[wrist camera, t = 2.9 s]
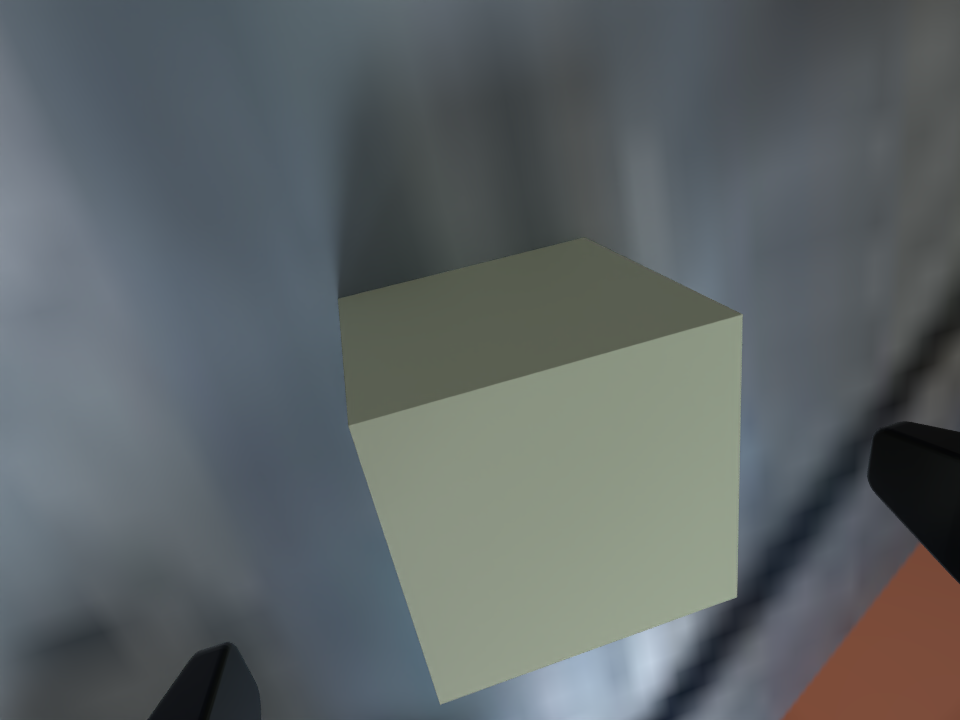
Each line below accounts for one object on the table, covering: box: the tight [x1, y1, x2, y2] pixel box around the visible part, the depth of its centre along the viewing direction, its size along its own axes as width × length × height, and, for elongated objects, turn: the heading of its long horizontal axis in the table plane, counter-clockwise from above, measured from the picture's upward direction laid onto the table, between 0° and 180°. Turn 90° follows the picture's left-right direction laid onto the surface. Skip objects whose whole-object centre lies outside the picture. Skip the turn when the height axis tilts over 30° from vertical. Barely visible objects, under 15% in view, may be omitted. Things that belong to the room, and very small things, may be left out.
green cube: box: [338, 237, 743, 705], centre depth 10 cm, size 5×5×5 cm
